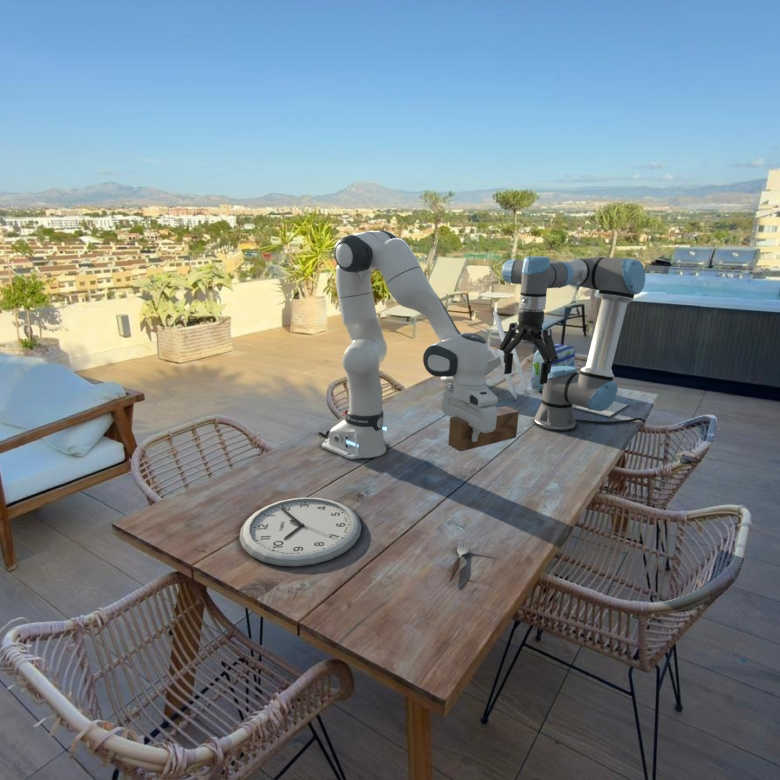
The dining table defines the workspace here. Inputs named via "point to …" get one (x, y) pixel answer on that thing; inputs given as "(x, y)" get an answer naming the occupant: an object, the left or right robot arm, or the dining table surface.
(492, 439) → the bar
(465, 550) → the fork
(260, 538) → the wall clock
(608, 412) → the invitation card
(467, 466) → the dining table surface
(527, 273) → the right robot arm
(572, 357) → the lunch box
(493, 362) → the white plastic object
